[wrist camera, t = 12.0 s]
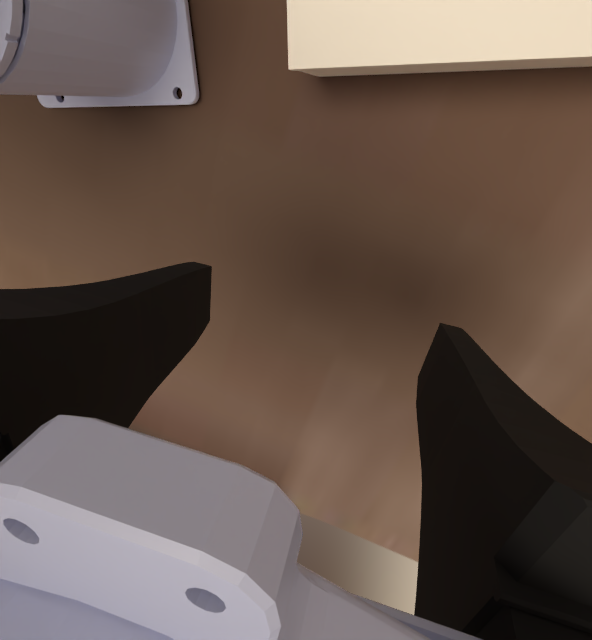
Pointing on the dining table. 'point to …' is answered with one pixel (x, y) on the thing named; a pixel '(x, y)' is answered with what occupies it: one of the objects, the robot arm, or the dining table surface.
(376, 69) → the box
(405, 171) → the dining table surface
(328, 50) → the lid
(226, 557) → the robot arm
